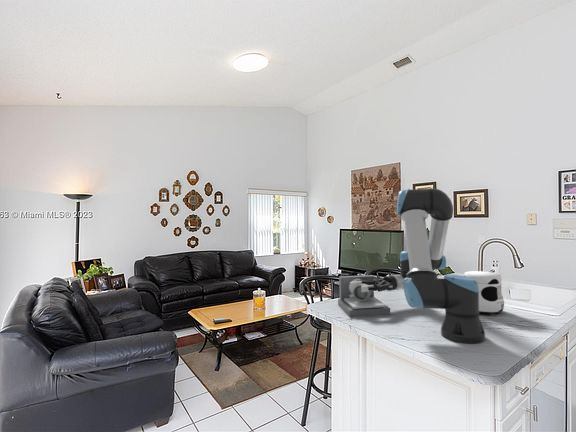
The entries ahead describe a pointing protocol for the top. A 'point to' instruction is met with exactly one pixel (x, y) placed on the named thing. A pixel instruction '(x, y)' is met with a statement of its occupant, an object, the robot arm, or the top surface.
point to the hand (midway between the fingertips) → (356, 287)
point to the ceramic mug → (360, 293)
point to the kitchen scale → (355, 306)
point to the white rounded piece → (488, 291)
